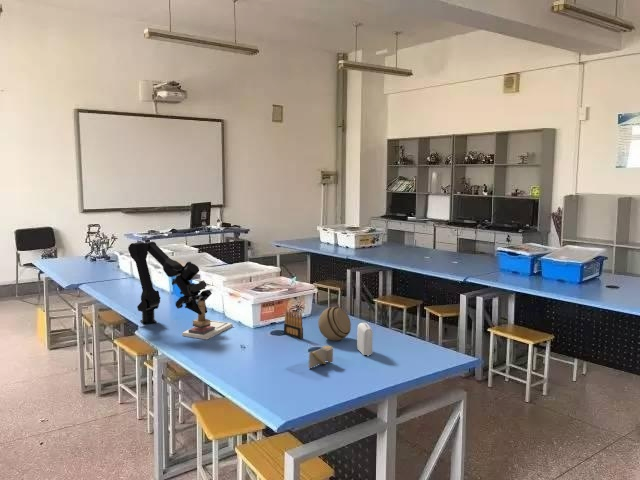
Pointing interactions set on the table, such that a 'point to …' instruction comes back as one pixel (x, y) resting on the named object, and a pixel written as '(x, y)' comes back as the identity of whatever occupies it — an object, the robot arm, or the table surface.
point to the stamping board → (218, 329)
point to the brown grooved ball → (334, 323)
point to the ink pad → (201, 330)
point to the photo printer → (364, 338)
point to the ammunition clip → (293, 324)
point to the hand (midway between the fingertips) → (203, 313)
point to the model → (321, 356)
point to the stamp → (201, 317)
